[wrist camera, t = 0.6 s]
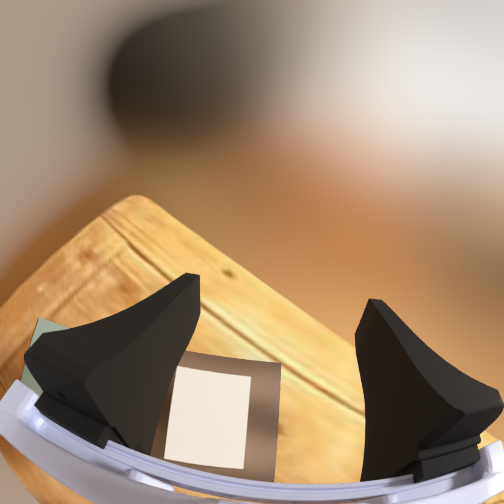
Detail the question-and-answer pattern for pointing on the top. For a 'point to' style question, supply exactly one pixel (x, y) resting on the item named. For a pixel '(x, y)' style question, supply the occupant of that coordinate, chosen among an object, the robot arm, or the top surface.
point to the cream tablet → (208, 418)
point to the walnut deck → (259, 415)
